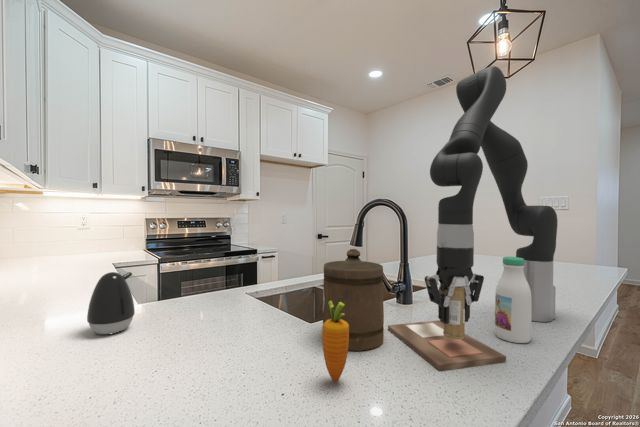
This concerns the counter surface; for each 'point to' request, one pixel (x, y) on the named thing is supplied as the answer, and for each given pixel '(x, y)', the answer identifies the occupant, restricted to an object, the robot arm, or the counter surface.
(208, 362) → the counter surface
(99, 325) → the pump dispenser
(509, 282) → the milk bottle
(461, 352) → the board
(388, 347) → the counter surface
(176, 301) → the counter surface
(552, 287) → the robot arm
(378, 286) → the wooden container
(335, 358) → the carrot
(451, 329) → the sprinkles bottle
